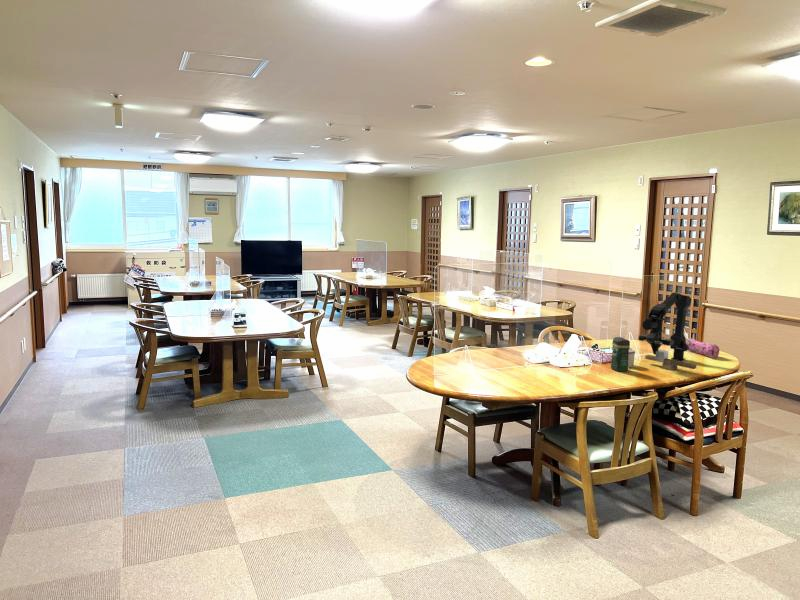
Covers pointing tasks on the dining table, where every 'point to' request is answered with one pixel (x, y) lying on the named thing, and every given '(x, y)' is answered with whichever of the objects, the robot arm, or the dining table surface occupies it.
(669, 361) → the beam
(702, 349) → the pencil case
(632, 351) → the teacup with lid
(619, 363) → the coffee jar
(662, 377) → the dining table surface
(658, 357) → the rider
